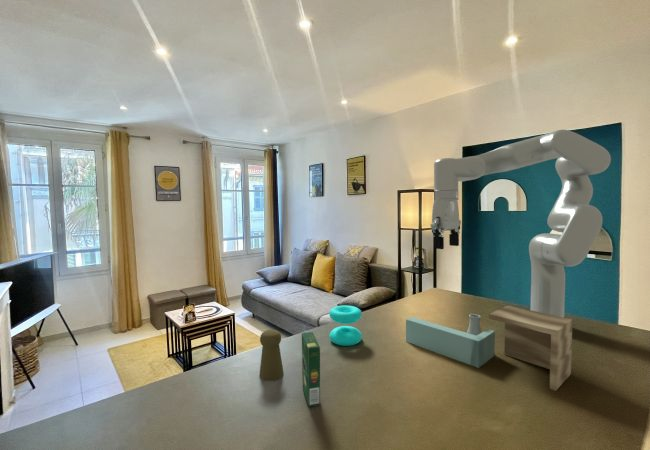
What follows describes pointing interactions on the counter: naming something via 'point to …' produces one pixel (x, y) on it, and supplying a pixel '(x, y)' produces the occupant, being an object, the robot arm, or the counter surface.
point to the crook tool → (451, 341)
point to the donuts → (345, 333)
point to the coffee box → (311, 368)
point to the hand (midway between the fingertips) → (446, 247)
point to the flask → (474, 324)
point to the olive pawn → (271, 356)
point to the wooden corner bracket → (538, 340)
